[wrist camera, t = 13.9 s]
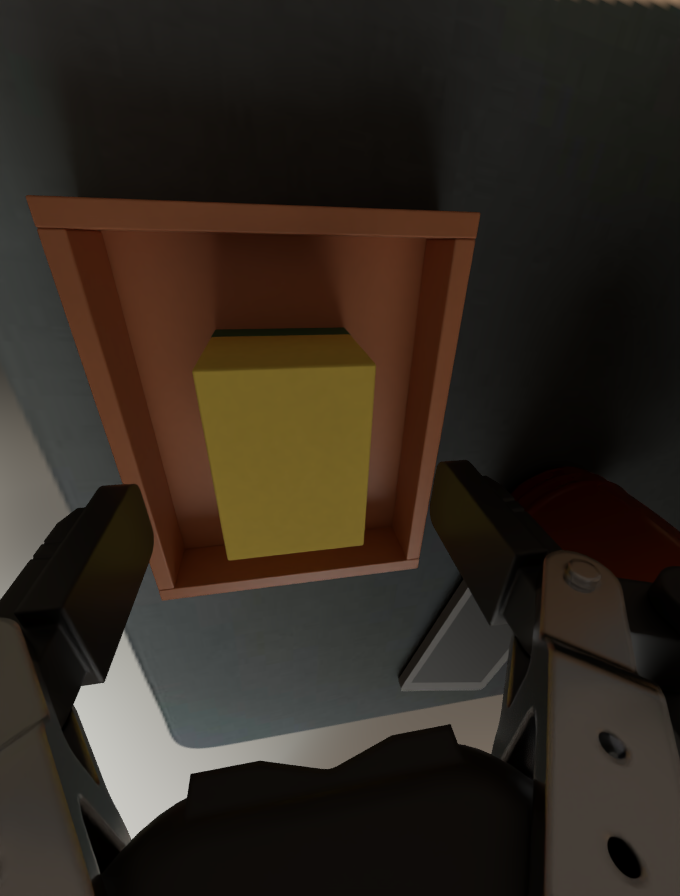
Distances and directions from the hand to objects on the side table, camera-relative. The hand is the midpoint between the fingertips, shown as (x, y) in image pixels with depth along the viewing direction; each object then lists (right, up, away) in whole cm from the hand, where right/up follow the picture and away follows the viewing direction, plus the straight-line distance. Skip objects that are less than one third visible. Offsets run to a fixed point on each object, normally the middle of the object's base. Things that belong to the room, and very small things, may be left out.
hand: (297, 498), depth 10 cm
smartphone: (+12, -12, +18) cm, 25 cm away
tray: (-1, +3, +6) cm, 7 cm away
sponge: (-1, +3, +6) cm, 7 cm away
